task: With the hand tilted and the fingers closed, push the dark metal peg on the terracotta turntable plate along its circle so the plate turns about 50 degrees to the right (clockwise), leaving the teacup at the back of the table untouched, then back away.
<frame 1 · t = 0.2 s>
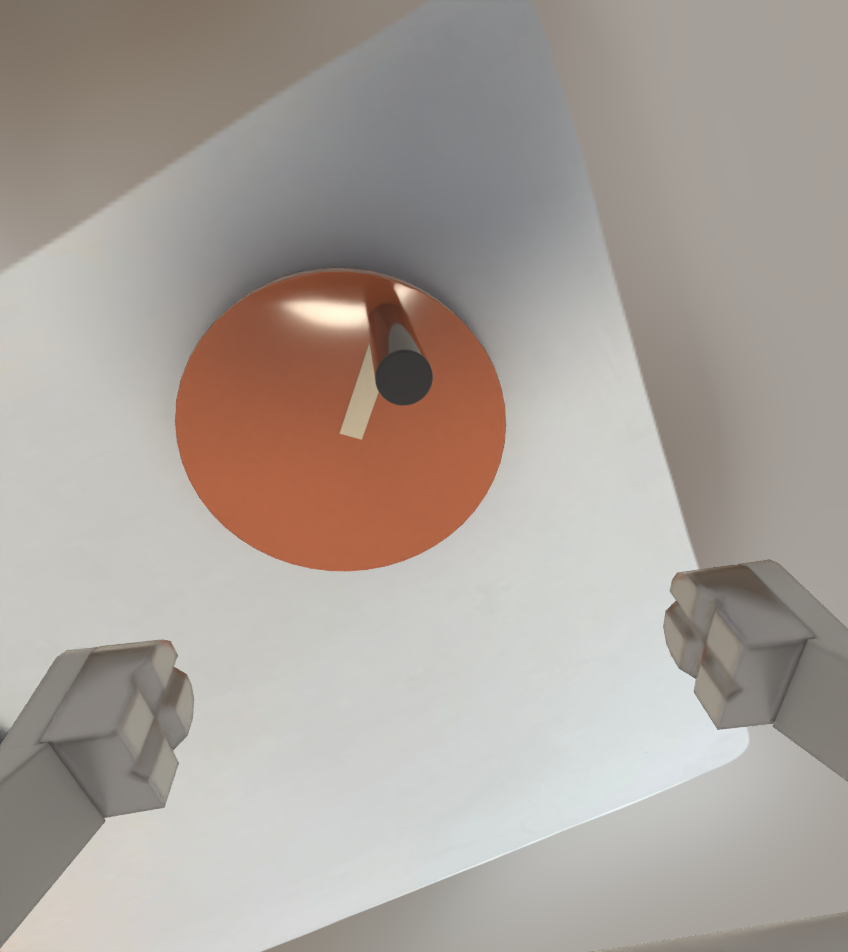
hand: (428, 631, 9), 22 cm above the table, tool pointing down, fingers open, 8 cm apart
plate: (348, 474, 25), point 6 cm above the table, hinge at 0.0°
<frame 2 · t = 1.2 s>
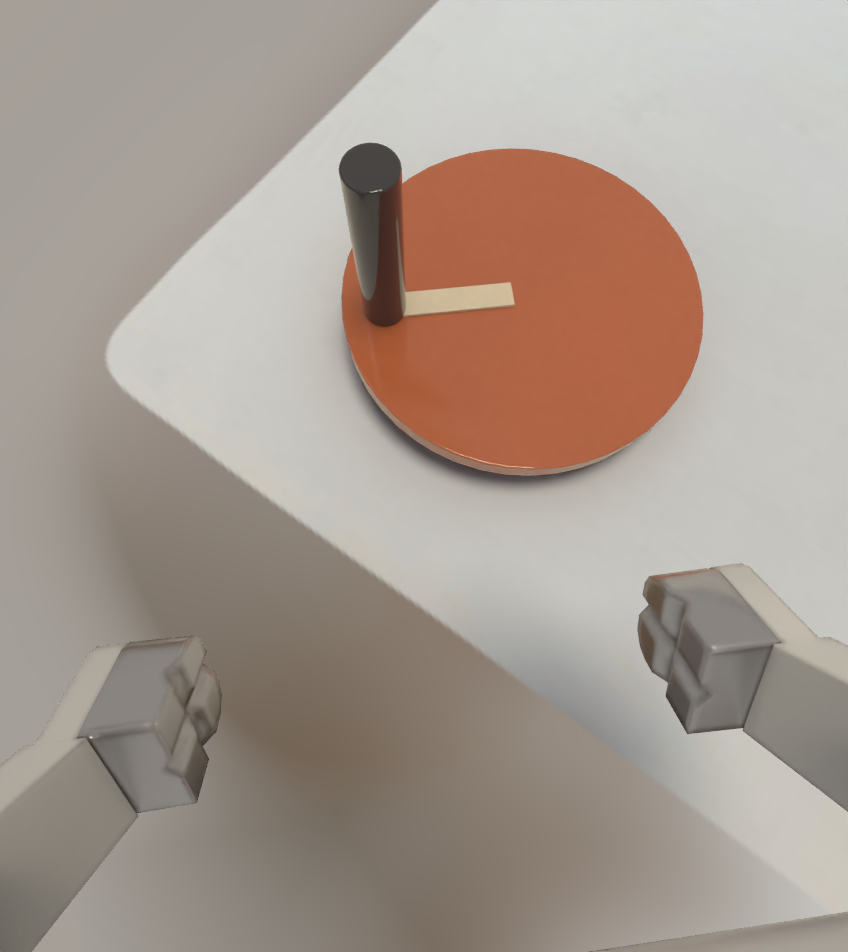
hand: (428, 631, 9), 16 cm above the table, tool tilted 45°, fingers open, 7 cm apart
plate: (538, 245, 22), point 6 cm above the table, hinge at 0.0°
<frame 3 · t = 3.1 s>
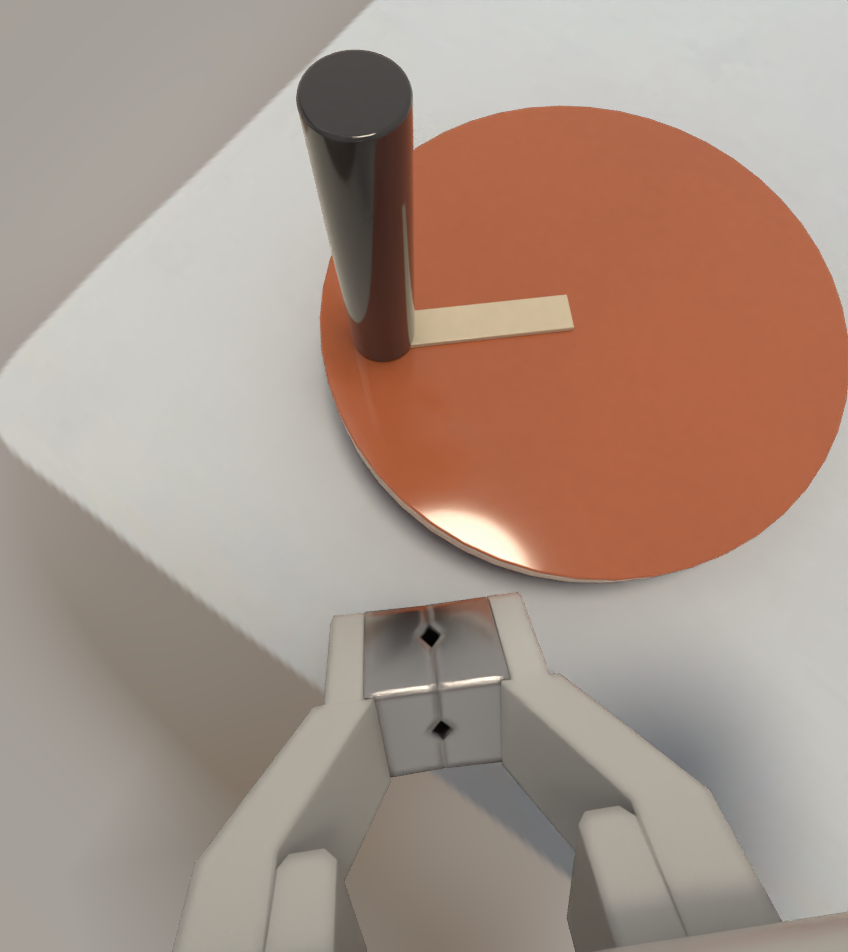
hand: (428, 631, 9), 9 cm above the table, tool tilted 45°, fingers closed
plate: (623, 239, 14), point 6 cm above the table, hinge at 0.0°
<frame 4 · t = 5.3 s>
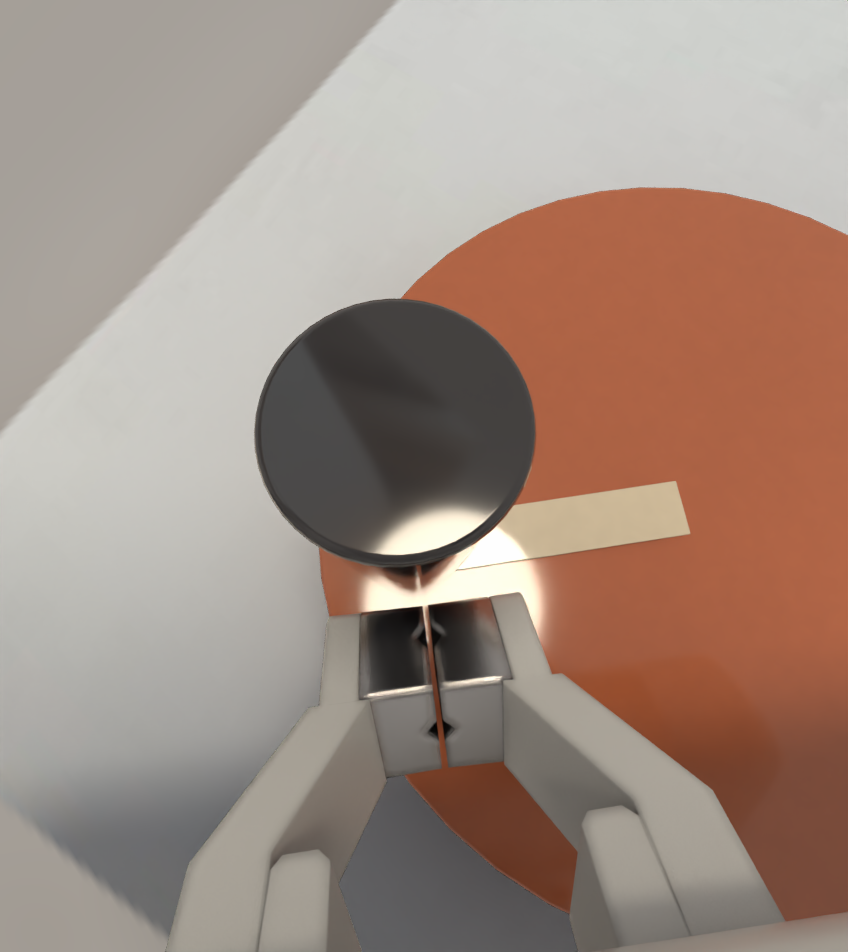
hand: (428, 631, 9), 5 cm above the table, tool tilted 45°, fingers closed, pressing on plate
plate: (811, 463, 8), point 6 cm above the table, hinge at -0.8°, touching gripper
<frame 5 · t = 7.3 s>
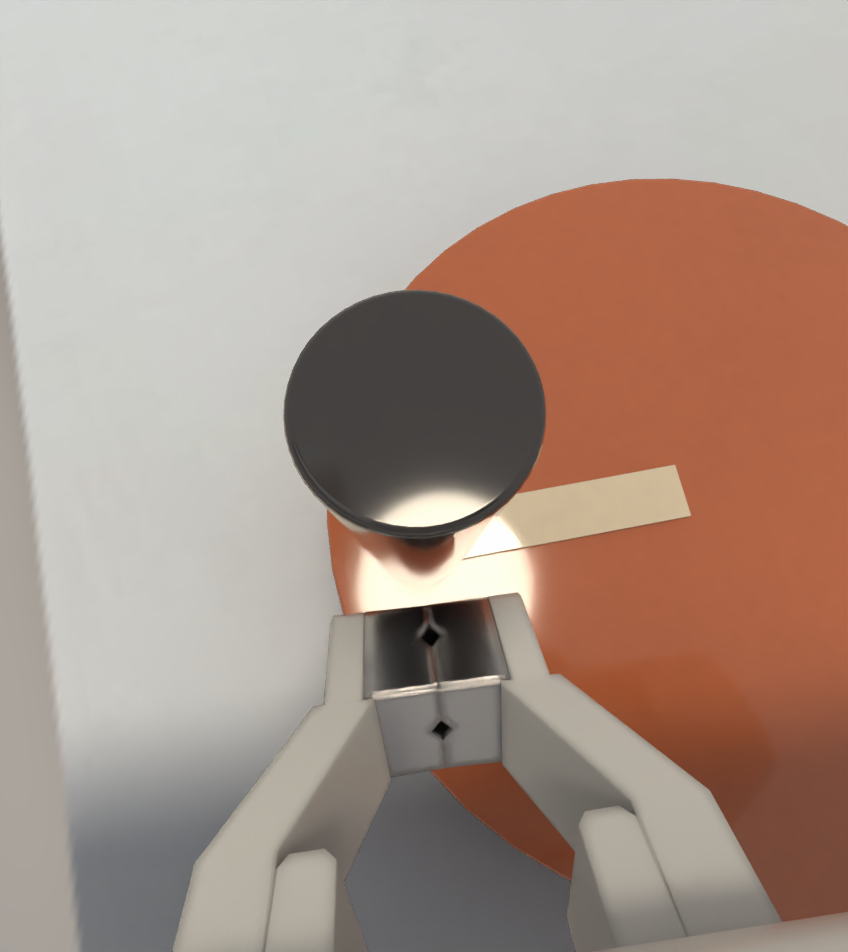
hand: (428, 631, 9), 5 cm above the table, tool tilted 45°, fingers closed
plate: (805, 441, 9), point 6 cm above the table, hinge at -48.6°
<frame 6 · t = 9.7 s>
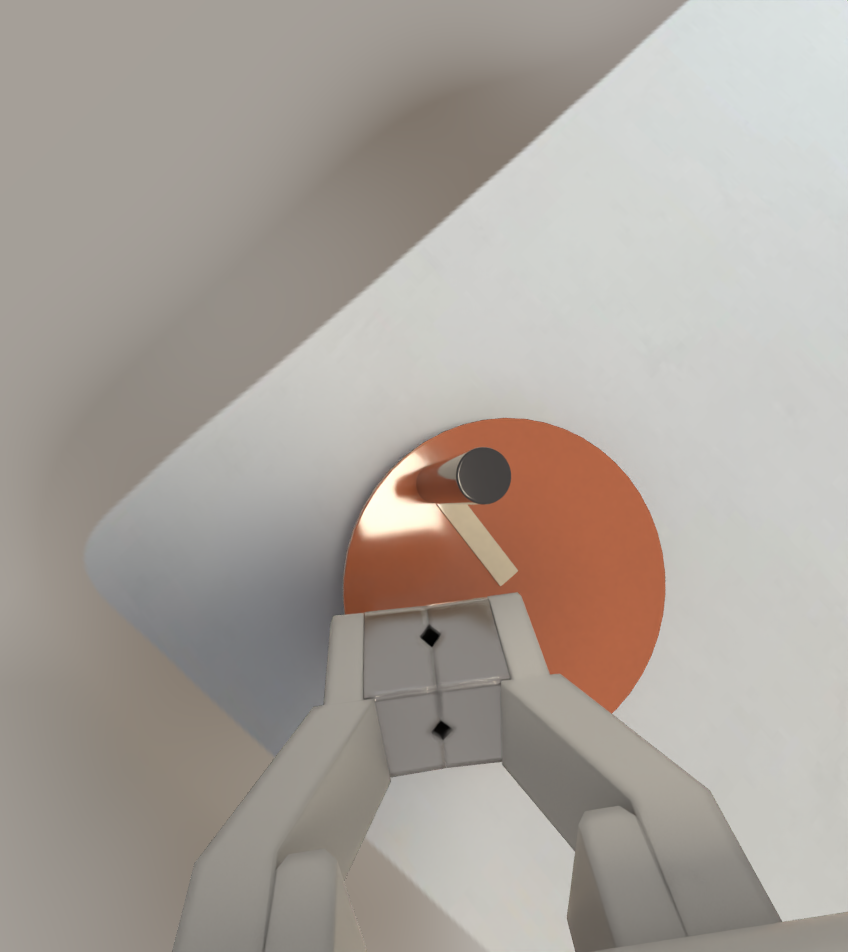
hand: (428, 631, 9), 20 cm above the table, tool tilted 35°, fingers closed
plate: (542, 597, 23), point 6 cm above the table, hinge at -48.6°
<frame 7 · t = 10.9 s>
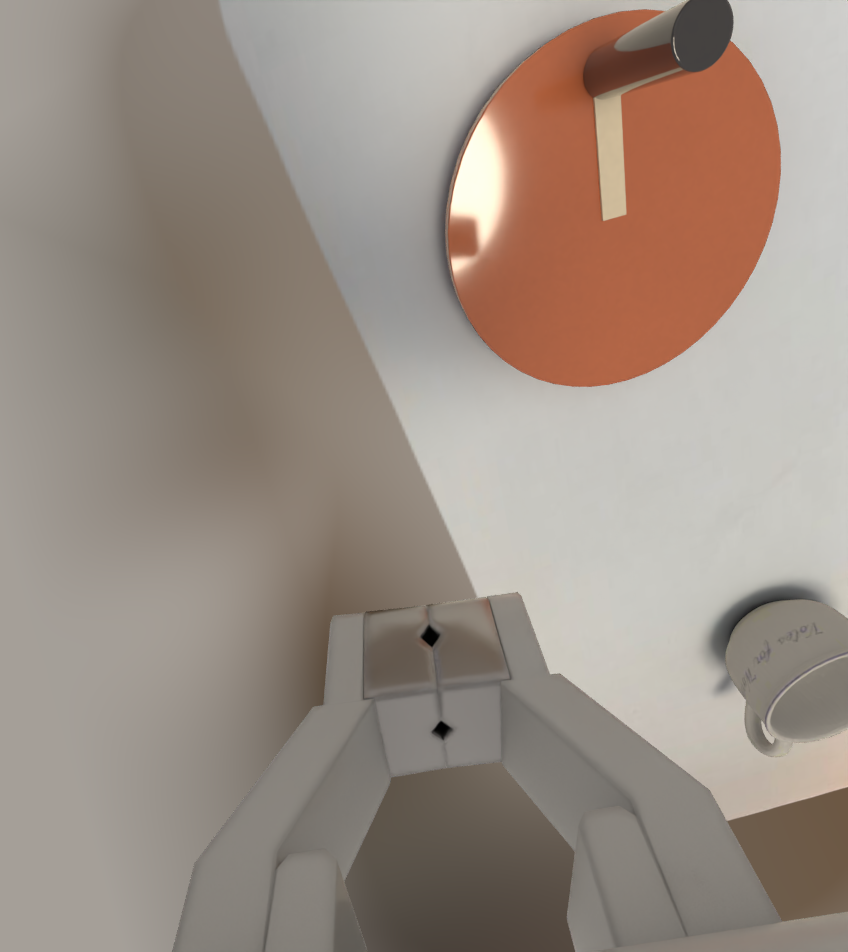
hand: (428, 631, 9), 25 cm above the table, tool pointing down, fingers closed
teacup: (755, 636, 48), on the table
plate: (644, 235, 24), point 6 cm above the table, hinge at -48.6°
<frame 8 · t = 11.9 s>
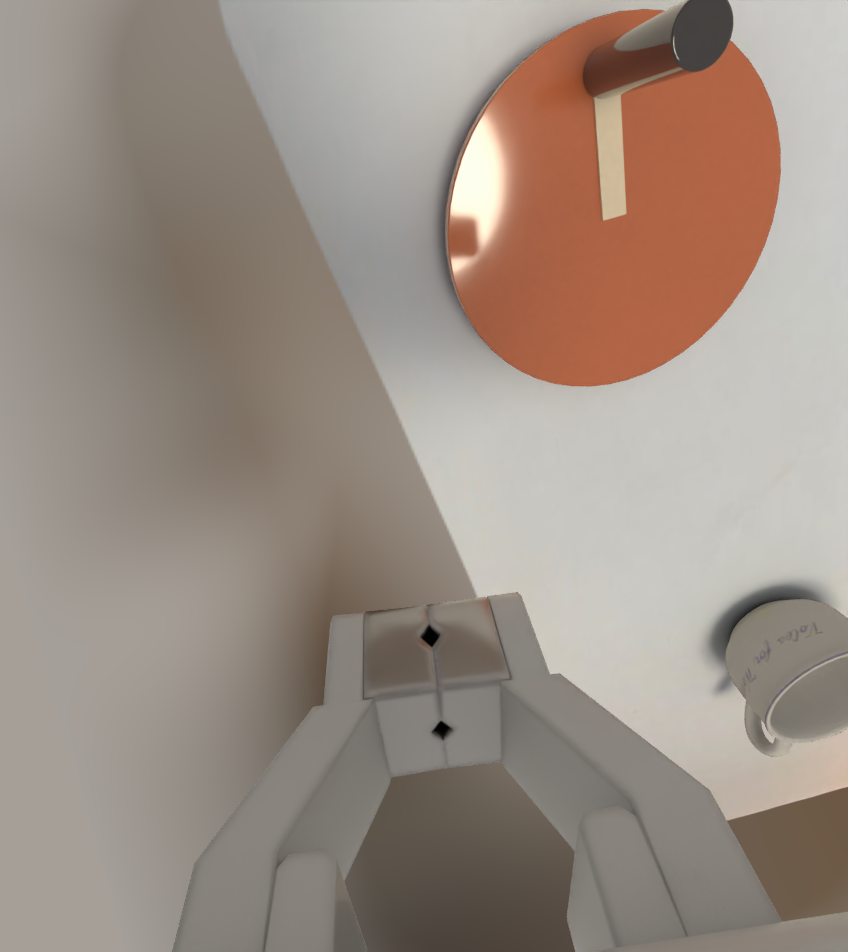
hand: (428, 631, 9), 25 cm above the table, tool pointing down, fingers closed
teacup: (755, 636, 48), on the table
plate: (644, 234, 24), point 6 cm above the table, hinge at -48.6°
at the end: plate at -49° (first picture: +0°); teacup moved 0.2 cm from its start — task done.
